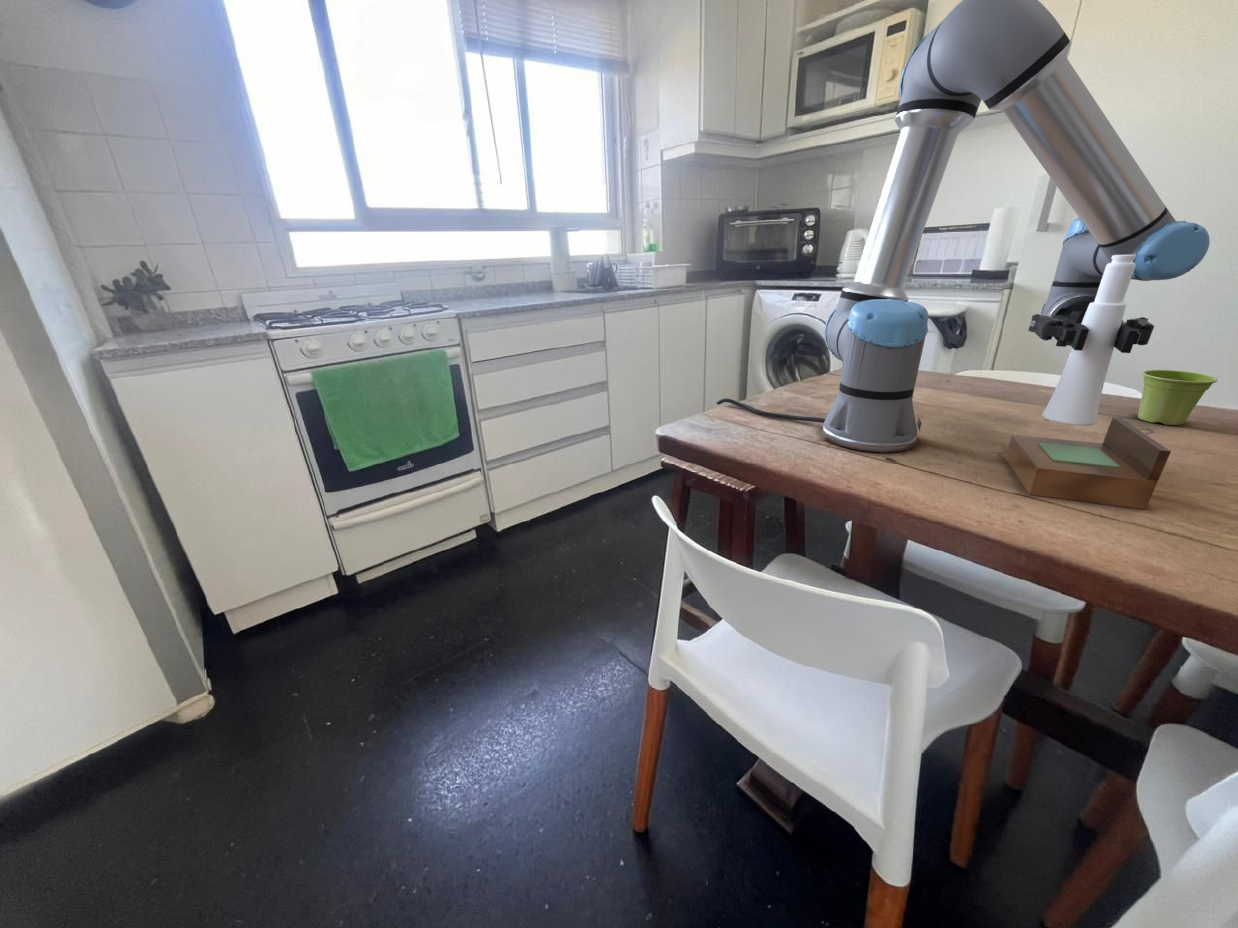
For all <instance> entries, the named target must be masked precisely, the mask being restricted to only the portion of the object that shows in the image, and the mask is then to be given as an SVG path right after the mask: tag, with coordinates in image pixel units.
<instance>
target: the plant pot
mask: <svg viewBox="0 0 1238 928" xmlns="http://www.w3.org/2000/svg"><path fill="white" fill-rule="evenodd" d="M1141 374H1142V375H1143V389H1142V394H1141V398H1140V403H1139V408H1138V413H1137V417H1138V419H1139V420H1141V421H1145V422H1147V423H1152V424H1153V423H1161V424H1163V425H1165V426H1181V425H1184V423H1186V421H1187V419H1188V417H1189V416H1190V415H1191V413H1192V412H1193V410H1194V409H1195V407H1196V406H1197V404H1198V403H1199V401H1200V400H1201V399H1202V397H1203V396H1204V394H1205V393H1206V391H1208V390H1209V389H1210V388H1211V386H1212V385H1213V384H1215V383H1217V382H1218V381H1219V378H1217V377H1215V376H1213V375H1209V374H1205V373H1200V372H1193V371H1185V370H1173V369H1171V370H1170V369H1148V370H1143V371H1142V373H1141Z"/></svg>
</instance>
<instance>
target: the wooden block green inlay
mask: <svg viewBox="0 0 1238 928" xmlns="http://www.w3.org/2000/svg"><path fill="white" fill-rule="evenodd" d="M1009 440H1010V441H1009V444H1008V446H1007V451H1006V454H1005V457H1004V459H1005V460H1006V462H1007V464H1008V465H1009V466H1010V468H1011V469H1012V471H1013V472H1014V474H1015V475H1016V477H1017V479H1018V480H1019V482H1020V483H1021V484H1022V486H1023V488H1024V489H1025V491H1026V492H1027V494H1028V495H1029V496H1030V495H1031V496H1036V497H1037V496H1039V497H1044V498H1045V497H1046V498H1054V499H1059V500H1068V501H1076V502H1085V503H1091V504H1101V505H1107V506H1115V507H1122V508H1129V509H1130V508H1131V509H1139V510H1147V508H1148V505H1149V503H1150V501H1151V498H1152V496H1153V493H1154V492H1155V489H1156V487H1157V484H1158V483H1159V480H1160V478H1161V475H1162V473H1163V471H1164V469H1165V466H1166V464H1167V463H1168V462H1167V461H1168V459H1169V458H1170V455H1171V452H1172V450H1170V449H1168V448H1167V447H1165V446H1164V445H1162V444H1161V443H1159V442H1158V441H1156V440H1155V439H1154V438H1152V437H1150V436H1149V435H1147V434H1146V433H1144V432H1143V431H1141V430H1140V429H1139V428H1137V427H1136V426H1134V425H1132V424H1131V423H1129V422H1128V421H1126V420H1125V419H1124V418H1122V417H1114V416H1113V417H1112V418H1111V420H1110V423H1109V426H1108V428H1107V431H1106V434H1105V436H1104V439H1103V442H1095V441H1094V442H1093V441H1083V440H1071V439H1061V438H1059V439H1058V438H1051V437H1041V436H1028V435H1018V434H1011V437H1010V439H1009Z"/></svg>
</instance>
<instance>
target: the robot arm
mask: <svg viewBox="0 0 1238 928" xmlns="http://www.w3.org/2000/svg"><path fill="white" fill-rule="evenodd" d="M1071 45H1072V41H1071V39H1070V38H1069V36H1068V35H1067V34H1066V31H1064V29H1063V27H1062V26H1061V25H1060V23H1059V22H1058V20H1057V19H1056V18H1055V16H1054V15H1053V14H1052V13H1051V12H1050V11H1049V9H1048V8H1047V7H1045V5H1044V4H1043V3H1042V2H1041V1H1040V0H961V1H960V2H959V3H957V4H956V5H955V6H954V8H952V9H951V10H950V12H948V14H947V15H946V16H945V17H944V18H943V19H942V20H941V21H940V23H938V24H937V26H935V27H934V29H932V30H931V31H930V32H929V33H928V34H926V35H925V36H924V37H923V38H922V39H921V40H920V42H919V43H917V45H916V47H915V48H914V50H912V52H911V54H910V56H909V57H908V59H907V61H906V63H905V65H904V67H903V70H902V73H901V77H900V80H899V98H900V101H899V104H898V107H897V110H896V114H895V118H894V122H895V125H897V127H898V130H899V131H900V132H899V135H898V136H899V137H898V139H897V142H896V144H895V145H896V146H895V149H894V152H893V155H892V159H891V161H890V165H889V168H888V170H887V174H886V176H885V180H884V183H883V188H882V190H881V192H880V196H879V200H878V203H877V205H876V209H875V212H874V215H873V218H872V222H871V224H870V228H869V231H868V234H867V237H866V241H865V243H864V247H863V250H862V254H861V256H860V260H859V262H858V266H857V269H856V273H855V275H854V279H853V280H852V281H851V282H850V283H848V284H847V285H845V286H844V287H843V288H842V289H841V292H840V296H839V299H838V302H837V305H836V308H835V309H834V310H833V311H832V312H831V314H830V315H829V316H828V318H827V320H826V323H825V326H824V340H825V343H826V346H827V348H828V350H829V351H830V352H831V355H832V356H833V357H835V358H836V359H837V360H839V361H841V362H842V366H841V373H840V380H839V387H838V393H837V396H836V397H835V399H834V402H833V403H832V406H831V407H830V409H829V411H828V413H827V415H826V417H824V418H823V417H813V416H804V415H803V416H801V415H791V414H784V413H777V412H776V413H775V412H769V411H765V410H760V409H757V408H755V407H752V406H751V405H748V404H745V403H743V402H742V403H741V402H739V401H738V400H734V399H731V398H721V399H719V400H717V402H716V404H715V405H721V404H723V403H728V404H732V405H734V406H736V407H739V408H743V409H745V410H747V411H750V412H752V413H755V414H757V415H760V416H764V417H765V416H766V417H770V418H776V419H784V420H793V421H801V422H802V421H804V422H805V421H806V422H814V423H823V424H822V430H821V431H822V432H821V434H822V437H823V438H824V439H826V440H827V441H829V442H830V443H832V444H835V445H837V446H839V447H844V448H847V449H852V450H856V451H861V452H862V451H863V452H870V453H895V452H896V453H897V452H903V451H906V450H910V449H912V448H913V447H915V445H916V442H917V438H918V431H919V432H920V431H921V427H922V420H921V419H920V417H919V416H918V417H917V421H916V416H915V410H914V403H913V397H914V392H915V388H916V384H917V383H916V382H917V379H918V375H919V374H918V372H919V369H920V365H921V358H922V355H923V351H924V346H925V340H926V336H927V334H928V331H929V328H928V327H929V325H928V322H929V312H928V310H927V308H926V307H925V306H923V305H922V304H919V303H918V302H915V301H914V302H913V301H909V297H908V295H907V293H906V292H905V289H904V288H905V284H906V281H907V278H908V275H909V273H910V271H911V267H912V265H913V262H914V258H915V256H916V254H917V250H918V247H919V245H920V242H921V239H922V236H923V233H924V231H925V228H926V225H927V222H928V220H929V216H930V215H931V211H932V208H933V205H934V202H935V201H936V197H937V194H938V191H939V189H940V186H941V184H942V181H943V177H944V174H945V172H946V169H947V166H948V164H949V160H950V158H951V155H952V153H953V149H954V147H955V143H956V141H957V138H958V136H959V135H960V134H961V133H962V132H963V131H964V130H966V129H967V128H968V127H970V126H972V124H973V123H974V121H975V118H976V116H977V113H978V110H979V107H980V104H981V102H983V103H984V105H985V106H986V107H987V109H988V110H989V111H1002V112H1003V113H1004V115H1005V116H1006V118H1007V119H1008V120H1009V122H1010V123H1011V125H1012V126H1013V127H1014V129H1015V130H1016V132H1017V133H1018V134H1019V136H1020V137H1021V138H1022V140H1023V141H1024V143H1025V144H1026V145H1027V147H1028V148H1029V151H1031V153H1032V154H1033V155H1034V157H1035V159H1037V161H1038V162H1039V164H1040V165H1041V167H1042V168H1043V170H1045V172H1046V174H1047V175H1048V176H1049V177H1050V179H1051V180H1052V182H1053V183H1054V185H1055V186H1056V187H1057V189H1058V190H1059V191H1060V193H1061V194H1062V195H1063V197H1064V199H1065V200H1066V201H1067V202H1068V204H1069V205H1070V207H1071V209H1072V210H1073V211H1074V212H1075V214H1076V215H1077V216H1078V217H1077V218H1074V219H1073V220H1072V221H1071V223H1070V224H1069V227H1068V230H1067V232H1066V236H1065V239H1064V240H1063V241H1062V247H1061V251H1060V254H1059V258H1058V262H1057V264H1056V269H1055V272H1054V277H1053V281H1052V283H1051V286H1050V288H1049V293H1048V296H1047V298H1046V301H1045V303H1044V304H1043V305H1042V308H1041V311H1040V314H1039V313H1036V314H1032V316H1031V321H1030V323H1029V327H1028V332H1031V333H1035V335H1036V336H1037V337H1038V338H1039V339H1040V340H1043V341H1051V340H1052V339H1053V338H1054V339H1055V340H1056V342H1055V343H1056V344H1055V346H1056V347H1064V348H1066V347H1067V346H1068V347H1071V349H1072V348H1073V349H1074V350H1081V351H1082V349H1083V346H1084V343H1085V340H1086V337H1087V334H1088V331H1089V329H1088V328H1087V327H1086V326H1084V325H1082V324H1081V323H1082V321H1083V318H1084V316H1085V313H1086V311H1087V308H1088V306H1089V304H1090V303H1091V302H1094V301H1095V298H1096V295H1097V292H1098V289H1099V286H1100V283H1101V280H1102V277H1103V274H1104V270H1105V267H1106V265H1107V264H1108V263H1111V262H1112V259H1111V258H1112V256H1113V255H1136V257H1135V259H1133V262H1132V263H1135V264H1136V265H1135V269H1134V272H1133V275H1132V277H1131V280H1135V281H1141V282H1150V281H1166V280H1167V281H1168V280H1173V279H1176V278H1179V277H1181V276H1183V275H1186V274H1187V273H1189V272H1190V271H1191V270H1193V269H1195V267H1197V266H1198V265H1199V264H1200V263H1201V262H1202V260H1203V259H1204V258H1205V256H1206V254H1207V253H1208V251H1209V248H1210V244H1211V243H1210V242H1211V241H1210V240H1211V239H1210V234H1209V232H1208V230H1207V229H1206V228H1205V227H1204V226H1202V225H1200V224H1198V223H1195V222H1191V221H1190V222H1189V221H1185V220H1179V221H1177V219H1175V218H1174V216H1173V215H1172V213H1171V212H1170V211H1169V209H1168V207H1167V206H1166V204H1165V202H1163V200H1162V199H1161V197H1160V196H1159V194H1158V192H1156V190H1155V188H1154V187H1153V185H1152V184H1151V182H1150V180H1149V178H1148V177H1147V176H1146V175H1145V173H1144V171H1143V170H1142V169H1141V167H1140V166H1139V164H1138V163H1137V161H1136V160H1135V158H1134V157H1133V155H1132V154H1131V152H1130V151H1129V149H1128V148H1127V146H1126V145H1125V143H1124V142H1123V140H1122V139H1121V137H1120V136H1119V134H1118V132H1117V131H1116V130H1115V128H1114V127H1113V125H1112V124H1111V122H1110V121H1109V119H1108V117H1107V116H1106V115H1105V113H1104V112H1103V110H1102V108H1101V107H1100V106H1099V104H1098V102H1097V101H1096V99H1095V98H1094V97H1093V95H1092V93H1091V92H1090V90H1089V89H1088V87H1087V86H1086V84H1085V83H1084V81H1083V80H1082V79H1081V77H1080V75H1079V74H1078V73H1077V71H1076V69H1075V68H1074V67H1073V65H1072V64H1071V62H1070V61H1069V59H1068V55H1069V51H1070V48H1071ZM1154 328H1155V325H1154V324H1152V323H1150V322H1149V318H1148V317H1147V318H1146V317H1144V316H1142V317H1137V318H1129V319H1126V321H1125V322H1124V319H1122V322H1121V326H1120V329H1119V333H1118V336H1117V339H1116V343H1115V346H1114V349H1116V350H1118V351H1119V352H1120V353H1122V354H1131V352H1132V349H1133V346H1134V345H1138V346H1146V345H1148V344H1149V342H1150V339H1151V336H1152V334H1153V332H1154Z"/></svg>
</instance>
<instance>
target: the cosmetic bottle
mask: <svg viewBox="0 0 1238 928" xmlns="http://www.w3.org/2000/svg"><path fill="white" fill-rule="evenodd" d="M1135 257H1136V255H1113V256H1112V258H1111V259H1112V262H1111V263H1108V264H1107V265H1106V267H1105V270H1104V274H1103V277H1102V280H1101V283H1100V286H1099V289H1098V292H1097V295H1096V298H1095V301H1094V302H1091V303H1090V304H1089V306H1088V308H1087V311H1086V313H1085V316H1084V318H1083V321H1082V323H1081V324H1082V325H1084V326H1086V327H1087V328H1088V329H1089V331H1088V334H1087V337H1086V340H1085V343H1084V346H1083V349H1082V351H1081V350H1074V349H1073V348H1072V347H1071V349H1070V352H1069V355H1068V357H1067V360H1066V362H1065V366H1064V367H1063V370H1062V373H1061V376H1060V378H1059V379H1058V382H1057V384H1056V387H1055V389H1054V391H1053V393H1052V395H1051V397H1050V399H1049V401H1048V403H1047V405H1046V406H1045V409H1044V410H1043V412H1042V413H1041V416H1042V417H1043V418H1044V419H1046V420H1048V421H1051V422H1054V423H1058V424H1062V425H1069V426H1070V425H1071V426H1081V427H1082V426H1093V425H1095V424H1097V423H1098V418H1099V417H1098V416H1099V409H1100V405H1101V404H1100V403H1101V398H1102V393H1103V389H1104V385H1105V380H1106V377H1107V373H1108V370H1109V368H1110V367H1109V366H1110V364H1111V359H1112V357H1113V353H1114V349H1115V347H1114V346H1115V343H1116V339H1117V336H1118V333H1119V329H1120V326H1121V322H1122V320H1124V319H1123V318H1124V315H1125V311H1126V307H1127V303H1126V302H1124V300H1125V297H1126V294H1127V291H1128V288H1129V286H1130V283H1131V281H1132V279H1131V277H1132V275H1133V272H1134V269H1135V265H1136V264H1135V263H1132V262H1133V259H1135Z"/></svg>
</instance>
